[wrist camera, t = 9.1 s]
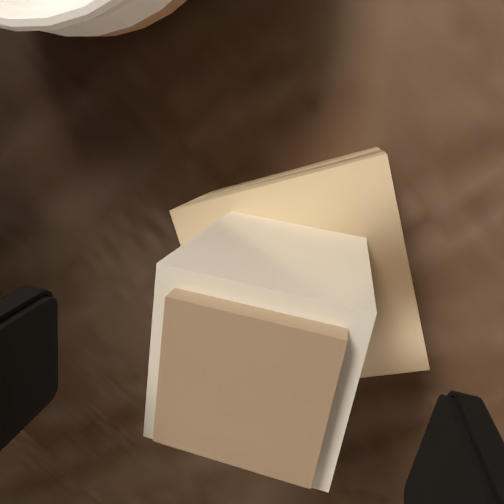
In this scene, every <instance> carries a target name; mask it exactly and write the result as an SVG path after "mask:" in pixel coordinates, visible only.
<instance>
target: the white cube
mask: <svg viewBox="0 0 504 504" xmlns="http://www.w3.org/2000/svg"><path fill="white" fill-rule="evenodd" d="M376 315H377V310H376V303H375V296H374V289H373V282H372V275H371V268H370V261H369V254H368V246H367V239H366V238H365V237H359V236H354V235H349V234H344V233H339V232H334V231H329V230H324V229H319V228H314V227H309V226H304V225H299V224H294V223H289V222H284V221H279V220H273V219H268V218H263V217H258V216H253V215H248V214H243V213H238V212H233V211H231V212H229V213H228V214H226V215H225V216H223V217H222V218H221V219H219V220H218V221H216V222H215V223H213V224H212V225H211V226H209V227H208V228H206V229H205V230H203V231H202V232H201V233H199V234H198V235H196V236H195V237H193V238H192V239H190V240H189V241H188V242H186V243H185V244H183V245H182V246H180V247H179V248H178V249H176V250H175V251H173V252H172V253H170V254H169V255H168V256H166V257H165V258H163V259H162V260H160V261H159V262H158V263H157V264H156V277H155V290H154V303H153V316H152V329H151V342H150V355H149V368H148V381H147V394H146V407H145V420H144V433H143V436H144V437H148V438H151V439H153V441H154V442H158V443H161V444H164V445H167V446H171V447H174V448H177V449H180V450H184V451H187V452H190V453H193V454H197V455H200V456H203V457H207V458H210V459H213V460H216V461H220V462H223V463H226V464H229V465H233V466H236V467H239V468H242V469H246V470H249V471H252V472H256V473H259V474H262V475H265V476H269V477H272V478H275V479H278V480H282V481H285V482H288V483H292V484H295V485H298V486H301V487H305V488H308V489H311V487H312V488H315V489H318V490H321V491H325V492H328V493H329V489H330V485H331V482H332V478H333V474H334V471H335V467H336V463H337V460H338V456H339V452H340V448H341V445H342V441H343V437H344V434H345V430H346V426H347V422H348V419H349V415H350V411H351V408H352V404H353V400H354V397H355V393H356V389H357V385H358V382H359V378H360V374H361V371H362V367H363V363H364V359H365V356H366V352H367V348H368V345H369V341H370V337H371V334H372V330H373V326H374V322H375V319H376Z"/></svg>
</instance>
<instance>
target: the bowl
mask: <svg viewBox="0 0 504 504" xmlns="http://www.w3.org/2000/svg"><path fill="white" fill-rule="evenodd" d="M185 1H187V0H0V28H3V29H7V30H12V31H43V32H48V33H53V34H57V35H62V36H66V37H70V36H81V37H99V36H117V35H121V34H125V33H128V32H132V31H136V30H139V29H143V28H145V27H147V26H149V25H151V24H153V23H155V22H156V21H158V20H160V19H162V18H164V17H166V16H167V15H169V14H171V13H173V12H174V11H175V10H176V9H177V8H178V7H180V6H181V5H182V4H183V3H184V2H185Z"/></svg>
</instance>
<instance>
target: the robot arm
mask: <svg viewBox="0 0 504 504" xmlns="http://www.w3.org/2000/svg"><path fill="white" fill-rule="evenodd" d="M57 387H58V336H57V301H56V299H55V298H53V295H52V293H51V292H50V291H48V290H44V289H40V288H36V287H32V286H24V287H22V288H20V289H18V290H16V291H14V292H12V293H11V294H9V295H7V296H5V297H3V298H1V299H0V451H1V450H2V449H3V448H4V447H5V446H6V445H7V444H8V443H9V442H10V441H11V440H12V439H13V438H14V437H15V436H16V435H17V434H18V433H19V432H20V431H21V430H22V429H23V428H24V427H25V426H26V425H27V424H28V423H29V422H30V421H31V420H32V419H33V418H34V417H35V416H36V415H37V414H38V413H39V412H40V411H41V410H42V409H43V408H44V407H45V406H46V405H47V404H48V403H49V402H50V401H51V400H52V399H53V397H54V396H55V394H56V391H57ZM404 504H504V442H503V440H502V438H501V436H500V434H499V432H498V430H497V428H496V426H495V424H494V422H493V420H492V418H491V416H490V414H489V412H488V410H487V408H486V406H485V404H484V403H483V401H482V399H481V398H479V397H477V396H473V395H468V394H464V393H460V392H456V391H450V392H449V393H448V395H447V396H445V395H440V396H439V398H438V400H437V402H436V405H435V408H434V410H433V413H432V416H431V418H430V421H429V424H428V426H427V429H426V431H425V434H424V437H423V439H422V442H421V445H420V447H419V450H418V453H417V455H416V458H415V460H414V463H413V466H412V468H411V471H410V474H409V476H408V479H407V482H406V485H405V489H404Z"/></svg>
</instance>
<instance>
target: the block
mask: <svg viewBox="0 0 504 504" xmlns="http://www.w3.org/2000/svg"><path fill="white" fill-rule="evenodd" d="M231 211H233V212H238V213H243V214H248V215H253V216H258V217H263V218H268V219H273V220H279V221H284V222H289V223H294V224H299V225H304V226H309V227H314V228H319V229H324V230H329V231H334V232H339V233H344V234H349V235H354V236H359V237H365V238H366V239H367V246H368V254H369V261H370V268H371V275H372V282H373V289H374V296H375V303H376V310H377V315H376V319H375V322H374V326H373V330H372V334H371V337H370V341H369V345H368V348H367V352H366V356H365V359H364V363H363V367H362V371H361V374H360V378H364V377H372V376H381V375H390V374H398V373H407V372H416V371H424V370H430V368H429V363H428V358H427V353H426V348H425V343H424V338H423V333H422V328H421V323H420V317H419V312H418V307H417V302H416V297H415V292H414V287H413V282H412V277H411V272H410V267H409V262H408V257H407V252H406V247H405V242H404V237H403V232H402V227H401V222H400V217H399V212H398V207H397V202H396V197H395V192H394V187H393V182H392V176H391V171H390V166H389V161H388V156H387V153H385V152H384V151H382V150H381V149H379V148H378V147H375V148H371V149H367V150H363V151H360V152H356V153H352V154H348V155H345V156H341V157H337V158H333V159H330V160H326V161H322V162H319V163H315V164H311V165H307V166H304V167H300V168H296V169H292V170H289V171H285V172H281V173H277V174H274V175H270V176H266V177H262V178H259V179H255V180H251V181H248V182H244V183H240V184H236V185H233V186H229V187H225V188H221V189H218V190H214V191H211V192H209V193H206V194H204V195H202V196H200V197H198V198H196V199H193V200H191V201H189V202H187V203H185V204H183V205H180V206H178V207H176V208H174V209H172V210H170V214H171V217H172V220H173V223H174V227H175V230H176V233H177V236H178V239H179V242H180V245H181V246H182V245H183V244H185V243H186V242H188V241H189V240H190V239H192V238H193V237H195V236H196V235H198V234H199V233H201V232H202V231H203V230H205V229H206V228H208V227H209V226H211V225H212V224H213V223H215V222H216V221H218V220H219V219H221V218H222V217H223V216H225V215H226V214H228V213H229V212H231Z"/></svg>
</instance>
